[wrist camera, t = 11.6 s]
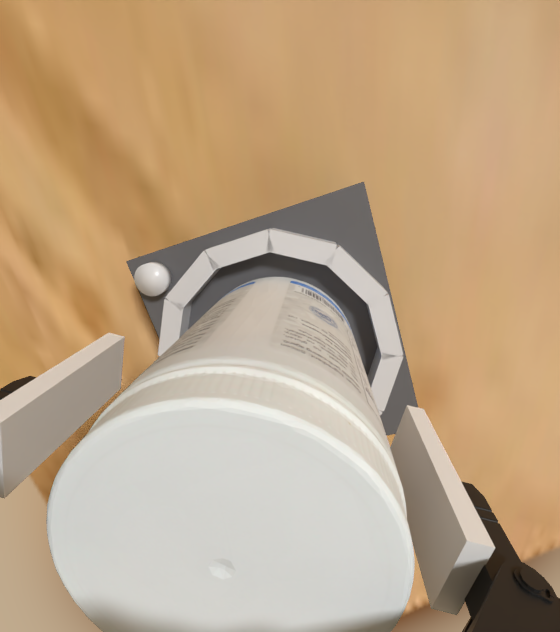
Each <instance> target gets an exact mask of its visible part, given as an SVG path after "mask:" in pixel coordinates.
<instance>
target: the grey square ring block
mask: <svg viewBox="0 0 560 632" xmlns="http://www.w3.org/2000/svg"><path fill="white" fill-rule="evenodd" d="M126 262H127V264H128V267H129V269H130V271H131V274H132V276H133V278H134V281H135V284H136V286H137V288H138V290H139V292H140V295H141V297H142V299H143V302H144V304H145V306H146V309H147V311H148V313H149V316H150V318H151V320H152V323H153V325H154V327H155V330H156V332H157V334H158V337H159V339H160V341H159V349H158V355H159V357H160V356H161V355H162V354H163V353H164V352H165V351H166V350H167V349H168V348H169V347H171V346H172V345H173V344H174V343H175V342H176V341H177V340H178V339H179V338H180V337H181V336H182V335H183V334H184V333H185V332H186V331H187V330H188V329H190V328H191V327H192V326H193V325H194V324H195V323H196V322H197V321H198V320H199V319H200V318H201V317H202V316H203V315H204V314H205V313H206V312H207V311H209V310H210V309H211V308H212V307H213V306H214V305H215V304H216V303H217V302H218V301H219V300H220V299H221V298H222V297H223V296H225V295H226V294H227V293H229V292H230V291H232V290H233V289H235V288H236V287H238V286H240V285H242V284H244V283H247V282H249V281H252V280H256V279H259V278H265V277H287V278H293V279H297V280H300V281H303V282H306V283H309V284H311V285H313V286H315V287H316V288H318V289H320V290H321V291H323V292H324V293H325V294H327V295H328V296H329V297H330V298H331V299H332V300H334V302H335V303H336V304H337V305H338V306H339V307H340V309H341V310H342V312H343V313H344V315H345V317H346V318H347V321H348V323H349V325H350V327H351V330H352V333H353V336H354V339H355V342H356V345H357V348H358V351H359V354H360V357H361V360H362V363H363V366H364V369H365V372H366V375H367V378H368V381H369V384H370V387H371V390H372V393H373V396H374V399H375V402H376V405H377V409H378V412H379V415H380V418H381V421H382V424H383V427H384V430H385V433H386V435H391V434H396V432H397V429H398V427H399V424H400V421H401V419H402V416H403V414H404V411H405V409H406V406H407V405H409V406H413V407H417V408H418V405H417V401H416V397H415V393H414V388H413V384H412V380H411V376H410V372H409V368H408V363H407V359H406V355H405V351H404V347H403V343H402V338H401V334H400V330H399V326H398V322H397V318H396V313H395V309H394V305H393V301H392V297H391V293H390V288H389V284H388V280H387V276H386V272H385V268H384V263H383V259H382V255H381V251H380V247H379V243H378V238H377V234H376V230H375V226H374V222H373V218H372V214H371V209H370V205H369V201H368V197H367V193H366V189H365V184H364V182H361V183H358V184H355V185H353V186H350V187H347V188H344V189H341V190H338V191H335V192H332V193H329V194H326V195H323V196H320V197H317V198H314V199H311V200H308V201H305V202H302V203H299V204H296V205H293V206H290V207H287V208H284V209H281V210H278V211H275V212H272V213H269V214H266V215H263V216H260V217H257V218H254V219H251V220H248V221H245V222H242V223H239V224H236V225H233V226H230V227H227V228H224V229H221V230H218V231H216V232H213V233H210V234H207V235H204V236H201V237H198V238H195V239H192V240H189V241H186V242H183V243H180V244H177V245H174V246H171V247H168V248H165V249H162V250H159V251H156V252H153V253H150V254H147V255H144V256H141V257H138V258H135V259H132V260H129V261H126ZM159 357H158V358H159Z"/></svg>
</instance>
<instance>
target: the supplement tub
mask: <svg viewBox="0 0 560 632" xmlns="http://www.w3.org/2000/svg"><path fill="white" fill-rule="evenodd" d="M47 536H48V541H49V546H50V551H51V555H52V558H53V561H54V564H55V568H56V570H57V572H58V574H59V576H60V578H61V580H62V582H63V584H64V586H65V588H66V589H67V591H68V592H69V594H70V595H71V597H72V598H73V600H74V601H75V603H76V604H77V605H78V606H79V607H80V609H81V610H82V611H83V612H84V613H85V615H86V616H87V617H88V618H89V619H90V620H91V621H92V622H93V623H94V624H95V625H96V626H97V627H99V628H100V629H101V630H102V631H103V632H391V631H392V630H393V628H394V627H395V626H396V624H397V623H398V621H399V619H400V617H401V615H402V614H403V612H404V609H405V607H406V605H407V602H408V600H409V597H410V593H411V588H412V584H413V577H414V550H413V544H412V537H411V533H410V529H409V525H408V522H407V512H406V502H405V497H404V491H403V487H402V484H401V481H400V478H399V475H398V471H397V468H396V465H395V461H394V458H393V455H392V452H391V449H390V446H389V442H388V439H387V436H386V433H385V430H384V427H383V424H382V421H381V418H380V415H379V412H378V409H377V405H376V402H375V399H374V396H373V393H372V390H371V387H370V384H369V381H368V378H367V375H366V372H365V369H364V366H363V363H362V360H361V357H360V354H359V351H358V348H357V345H356V342H355V339H354V336H353V333H352V330H351V327H350V325H349V323H348V321H347V318H346V317H345V315H344V313H343V312H342V310H341V309H340V307H339V306H338V305H337V304H336V303H335V302H334V300H332V299H331V298H330V297H329V296H328V295H327V294H325V293H324V292H323V291H321V290H320V289H318V288H316V287H315V286H313V285H311V284H309V283H306V282H303V281H300V280H297V279H293V278H287V277H265V278H259V279H256V280H252V281H249V282H247V283H244V284H242V285H240V286H238V287H236V288H235V289H233V290H232V291H230V292H229V293H227V294H226V295H225V296H223V297H222V298H221V299H220V300H219V301H218V302H217V303H216V304H215V305H214V306H213V307H212V308H211V309H210V310H209V311H207V312H206V313H205V314H204V315H203V316H202V317H201V318H200V319H199V320H198V321H197V322H196V323H195V324H194V325H193V326H192V327H191V328H190V329H188V330H187V331H186V332H185V333H184V334H183V335H182V336H181V337H180V338H179V339H178V340H177V341H176V342H175V343H174V344H173V345H172V346H171V347H169V348H168V349H167V350H166V351H165V352H164V353H163V354H162V355H161V356H160V357H159V358H158V359H157V360H156V361H155V362H154V363H153V364H152V365H151V366H150V367H148V368H147V369H146V370H145V371H144V372H143V373H142V374H141V375H140V376H139V377H138V378H136V380H135V381H134V382H133V383H132V384H131V385H130V386H129V387H128V388H127V389H125V390H124V391H123V392H122V393H121V394H120V395H119V396H118V397H117V398H116V399H115V400H114V401H113V402H112V403H111V404H110V405H109V406H108V407H107V408H106V409H105V410H104V412H103V413H102V414H101V415H100V416H99V417H98V419H97V420H96V422H95V423H94V424H93V425H92V427H91V429H90V430H89V432H88V434H87V435H86V436H85V437H84V438H83V439H82V440H81V441H80V442H79V443H78V444H77V445H76V447H75V448H74V449H73V450H72V451H71V452H70V454H69V455H68V457H67V458H66V460H65V461H64V463H63V464H62V466H61V468H60V470H59V471H58V473H57V475H56V477H55V480H54V483H53V485H52V488H51V492H50V496H49V500H48V505H47Z"/></svg>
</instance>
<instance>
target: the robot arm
mask: <svg viewBox="0 0 560 632" xmlns="http://www.w3.org/2000/svg"><path fill="white" fill-rule="evenodd" d="M124 338H125V337H124V336H120V335H116V334H111V333H107V334H106V335H104V336H103V337H101V338H99V339H98V340H96V341H95V342H93V343H91V344H90V345H88V346H86V347H85V348H83V349H82V350H80V351H78V352H77V353H75V354H74V355H72V356H70V357H69V358H67V359H66V360H64V361H62V362H61V363H59V364H58V365H56V366H54V367H53V368H51V369H50V370H48V371H46V372H45V373H43V374H42V375H40V376H38V377H37V378H36V377H32V376H28V377H25V378H22V379H19V380H16V381H13V382H12V383H10V384H8V385H6V386H5V387H3V388H1V390H0V497H2V498H5V497H6V496H7V495H8V494H9V493H10V492H12V491H13V490H14V489H15V488H16V487H17V486H18V485H19V484H20V483H21V482H22V481H23V480H24V479H25V478H26V477H27V476H29V475H30V474H31V473H32V472H33V471H34V470H35V469H36V468H37V467H38V466H39V465H40V464H41V463H42V462H43V461H44V460H45V459H47V458H48V457H49V456H50V455H51V454H52V453H53V452H54V451H55V450H56V449H57V448H58V447H59V446H60V445H61V444H62V443H63V442H65V441H66V440H67V439H68V438H69V437H70V436H71V435H72V434H73V433H74V432H75V431H76V430H77V429H78V428H79V427H80V426H81V425H83V424H84V423H85V422H86V421H87V420H88V419H89V418H90V417H91V416H92V415H93V414H94V413H95V412H96V411H97V410H98V409H99V408H101V407H102V406H103V405H104V404H105V403H106V402H107V401H108V400H109V399H110V398H111V397H112V396H113V395H114V394H115V393H116V392H117V391H118V390H120V389H121V378H122V364H123V351H124ZM390 449H391V452H392V455H393V458H394V461H395V465H396V468H397V471H398V475H399V478H400V481H401V484H402V487H403V491H404V497H405V502H406V512H407V522H408V525H409V529H410V533H411V537H412V542H413V546H414V549H415V553H416V556H417V560H418V563H419V567H420V571H421V574H422V578H423V581H424V585H425V588H426V592H427V595H428V599H429V603H430V606H431V609H435V610H439V611H443V612H447V613H451V614H455V615H457V614H458V613H459V611H460V609H461V607H462V606H463V604H464V602H466V605H467V607H468V610H469V613H470V616H471V618H470V619H469V621H468V623H467V624H466V626H465V628H464V629H463V631H462V632H560V598H558V597H557V596H556V594H555V592H554V590H553V588H552V587H551V586H550V584H549V583H548V582H547V581H546V580H545V579H544V577H542V576H541V575H540V574H539V573H538V572H537V571H536V570H534V569H533V568H531V567H529V566H528V565H526V564H525V563H523V562H521V561H520V559H519V557H518V555H517V554H516V552H515V550H514V548H513V547H512V545H511V543H510V541H509V540H508V538H507V536H506V534H505V533H504V531H503V529H502V527H501V526H500V524H498V520H497V519H496V517H495V515H494V513H492V510H491V508H490V506H489V504H488V503H487V501H486V499H485V497H484V496H483V495H482V494H481V493H480V492H479V491H478V490H477V489H476V488H475V487H474V486H473V485H472V484H469V483H465V482H461V480H460V478H459V476H458V474H457V472H456V471H455V469H454V467H453V465H452V463H451V461H450V459H449V457H448V455H447V453H446V451H445V449H444V447H443V445H442V443H441V442H440V440H439V438H438V436H437V434H436V432H435V430H434V428H433V426H432V424H431V422H430V420H429V418H428V416H427V414H426V413H425V411H424V409H421V408H417V407H413V406H409V405H407V406H406V409H405V411H404V414H403V416H402V419H401V421H400V424H399V427H398V429H397V432H396V434H395V437H394V440H393V442H392V445H391V447H390Z"/></svg>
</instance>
